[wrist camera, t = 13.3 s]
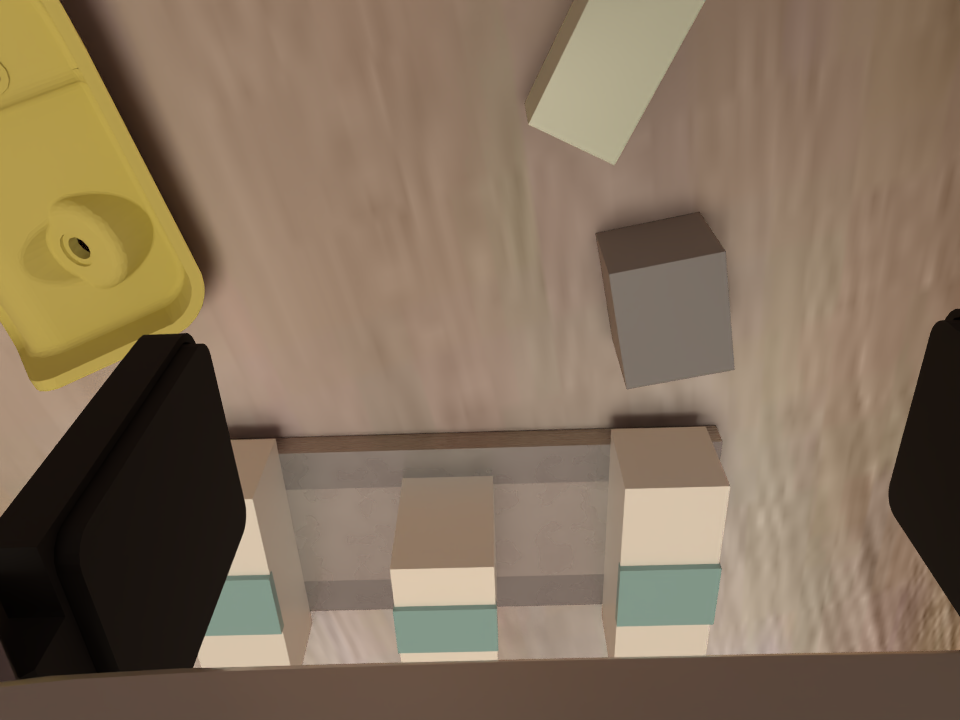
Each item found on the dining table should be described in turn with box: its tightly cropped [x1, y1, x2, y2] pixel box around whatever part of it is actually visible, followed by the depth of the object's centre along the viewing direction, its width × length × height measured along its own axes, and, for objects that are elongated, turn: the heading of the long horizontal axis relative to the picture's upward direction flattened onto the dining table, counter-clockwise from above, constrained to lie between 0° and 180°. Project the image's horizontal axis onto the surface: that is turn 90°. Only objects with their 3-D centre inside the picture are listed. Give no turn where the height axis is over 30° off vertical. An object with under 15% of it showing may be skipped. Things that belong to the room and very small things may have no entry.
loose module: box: [390, 476, 498, 662], centre depth 44 cm, size 5×8×7 cm, turn 2°
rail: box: [230, 426, 723, 611], centre depth 48 cm, size 30×12×2 cm, turn 92°
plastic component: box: [0, 0, 205, 391], centre depth 36 cm, size 20×7×10 cm
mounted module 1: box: [198, 439, 312, 668], centre depth 45 cm, size 5×14×5 cm, turn 2°
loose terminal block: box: [524, 0, 705, 165], centre depth 34 cm, size 4×7×4 cm, turn 155°
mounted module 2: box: [602, 427, 730, 657], centre depth 44 cm, size 5×14×5 cm, turn 2°
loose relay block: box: [596, 212, 735, 389], centre depth 39 cm, size 5×6×5 cm
